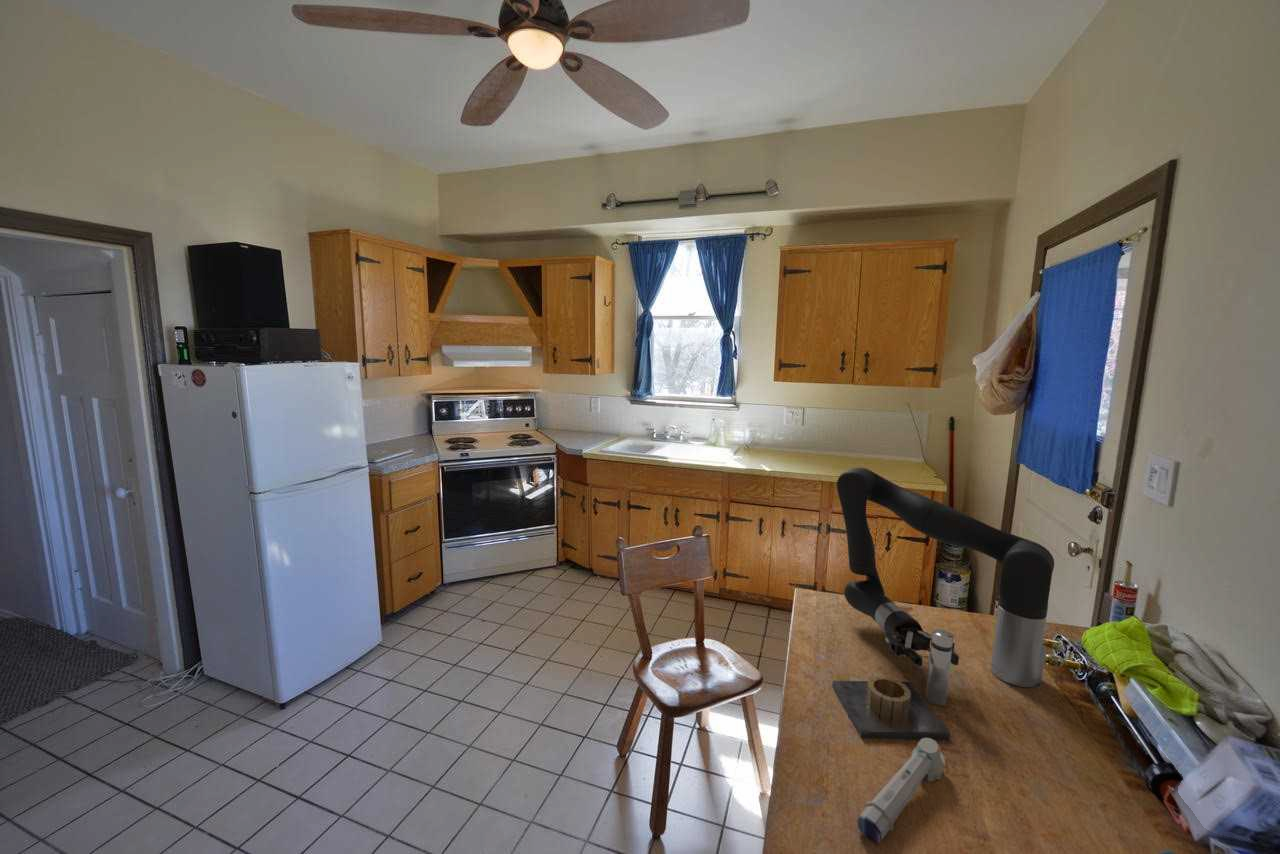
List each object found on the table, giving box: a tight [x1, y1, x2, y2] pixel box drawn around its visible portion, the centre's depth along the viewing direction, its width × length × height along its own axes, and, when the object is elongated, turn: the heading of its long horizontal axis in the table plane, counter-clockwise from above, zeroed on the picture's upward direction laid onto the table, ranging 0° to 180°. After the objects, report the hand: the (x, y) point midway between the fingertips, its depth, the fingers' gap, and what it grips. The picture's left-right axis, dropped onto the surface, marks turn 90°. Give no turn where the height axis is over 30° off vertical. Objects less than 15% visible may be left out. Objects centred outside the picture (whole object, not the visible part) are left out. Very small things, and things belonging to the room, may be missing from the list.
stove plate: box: [831, 675, 951, 740], centre depth 111 cm, size 18×16×6 cm
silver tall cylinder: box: [925, 628, 954, 706], centre depth 114 cm, size 4×4×16 cm
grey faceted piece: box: [857, 738, 946, 844], centre depth 90 cm, size 5×7×25 cm
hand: (939, 662), depth 115 cm, fingers open, 8 cm apart
